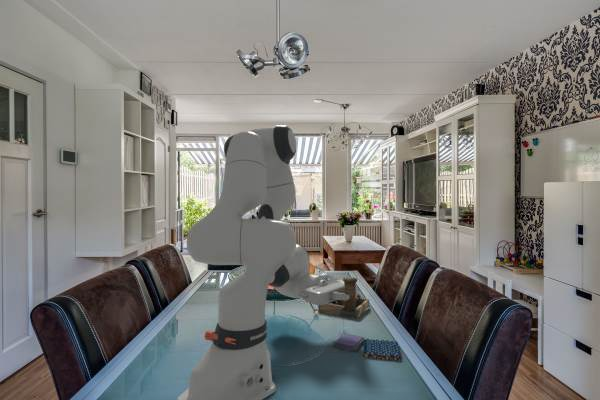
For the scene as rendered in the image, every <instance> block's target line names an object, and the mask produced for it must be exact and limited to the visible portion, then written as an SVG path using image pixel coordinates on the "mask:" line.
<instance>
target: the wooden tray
mask: <svg viewBox="0 0 600 400" xmlns="http://www.w3.org/2000/svg"><path fill="white" fill-rule="evenodd" d="M360 298H361V297H360ZM361 299H362V300H361V302H362V304H361V305H360V306H358V307H357V308H359V314H358V315H357V316H356V318H358V317H359V316H360V315H361V314H362V313H363V312H364V311H365V310H366V309H367V308H368V307H369V308H370V299H368V298H363V297H362V298H361ZM358 300H359V299H358V297H357V298H356V302H357V301H358ZM333 302H337V303H339V302H338V301H337V300H334V301H331V302H329V303H326V304H323V305H317V306H318V307H317V310H318V311H319V313H324V312H325V314H329V313H331V315H335V314H337V315H336V316H340V310H341V309H343V308H344V306H343V305H342V306H340V304H337V303H336V304H335V303H333ZM331 303H333V304H331ZM366 311H367V310H366ZM366 311H365V312H366ZM365 312H364V313H365ZM364 313H363V314H364ZM363 314H362V315H363ZM362 315H361V316H362ZM361 316H360V317H361ZM360 317H359V318H360ZM356 318H355V319H356ZM359 318H358V319H359Z"/></svg>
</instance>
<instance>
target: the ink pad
mask: <svg viewBox="0 0 600 400" xmlns="http://www.w3.org/2000/svg"><path fill="white" fill-rule="evenodd" d="M364 340H366V336H365V337H364V336H361V335H357V334H356V335H355V334H351V333H346V332H344V333H343V334H341V336H339V337H338V338H337V339H336V340H335V341H334V342H333V343H332V347H333V348H336V349H341V350H344V351H349V352H353V353H356V352H358V350H359V348H361V346H362V345H364Z"/></svg>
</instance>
